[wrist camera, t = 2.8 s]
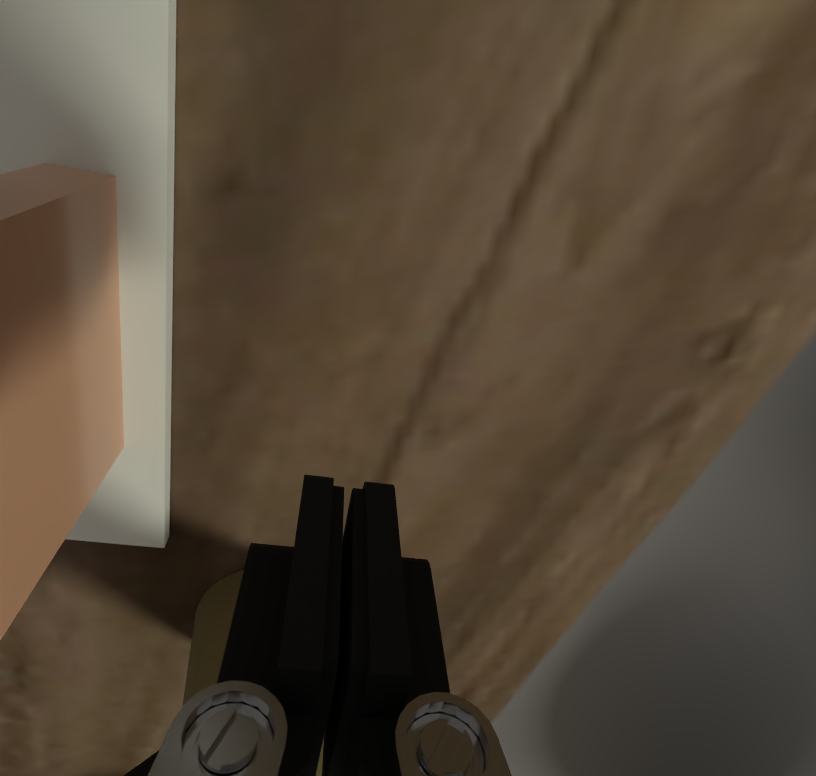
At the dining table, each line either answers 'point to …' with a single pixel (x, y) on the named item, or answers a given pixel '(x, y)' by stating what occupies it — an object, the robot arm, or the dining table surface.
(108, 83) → the mat
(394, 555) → the robot arm
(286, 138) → the dining table surface
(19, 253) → the tile
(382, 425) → the dining table surface
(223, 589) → the cork
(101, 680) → the dining table surface
